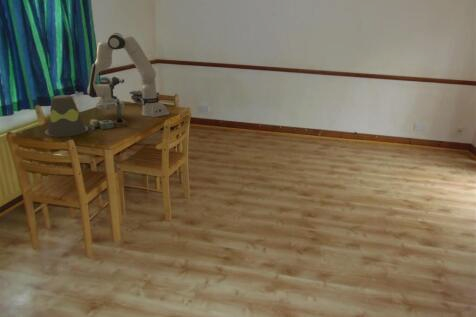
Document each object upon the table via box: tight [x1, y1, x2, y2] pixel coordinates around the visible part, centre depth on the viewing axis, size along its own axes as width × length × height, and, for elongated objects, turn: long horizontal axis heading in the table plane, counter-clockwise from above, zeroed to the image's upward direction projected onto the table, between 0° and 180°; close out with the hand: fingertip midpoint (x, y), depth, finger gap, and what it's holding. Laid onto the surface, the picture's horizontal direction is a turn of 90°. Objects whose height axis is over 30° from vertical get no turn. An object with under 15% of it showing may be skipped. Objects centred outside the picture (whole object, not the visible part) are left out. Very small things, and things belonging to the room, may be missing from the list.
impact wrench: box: [99, 76, 125, 99], centre depth 327 cm, size 8×22×25 cm, turn 78°
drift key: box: [89, 118, 100, 128], centre depth 266 cm, size 4×8×4 cm, turn 34°
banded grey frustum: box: [44, 94, 89, 138], centre depth 251 cm, size 28×28×24 cm
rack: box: [112, 119, 128, 128], centre depth 270 cm, size 8×8×3 cm
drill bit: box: [115, 99, 123, 123], centre depth 267 cm, size 3×3×19 cm
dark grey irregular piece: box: [129, 90, 160, 106], centre depth 336 cm, size 25×8×11 cm, turn 79°
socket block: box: [88, 119, 115, 131], centre depth 263 cm, size 15×8×4 cm, turn 124°
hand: (113, 107), depth 276 cm, fingers open, 8 cm apart
